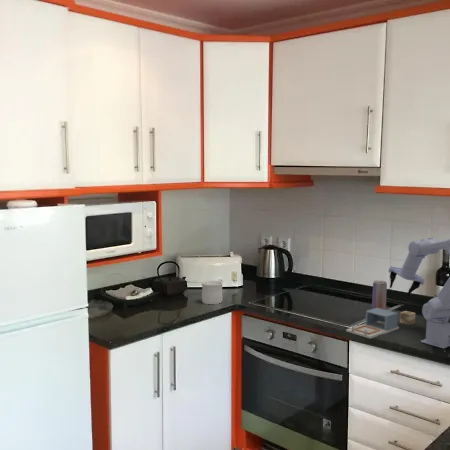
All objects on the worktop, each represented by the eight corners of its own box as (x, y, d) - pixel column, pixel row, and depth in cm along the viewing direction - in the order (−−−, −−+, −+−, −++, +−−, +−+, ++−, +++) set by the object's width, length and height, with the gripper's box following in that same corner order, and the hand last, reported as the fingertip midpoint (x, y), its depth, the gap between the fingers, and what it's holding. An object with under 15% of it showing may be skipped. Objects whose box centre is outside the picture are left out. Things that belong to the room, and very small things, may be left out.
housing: (397, 326, 224) (397, 312, 224) (386, 329, 219) (386, 316, 218) (376, 320, 232) (377, 307, 231) (365, 324, 227) (365, 310, 226)
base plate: (398, 328, 224) (399, 322, 224) (370, 338, 211) (370, 331, 211) (374, 322, 233) (375, 315, 233) (346, 331, 220) (346, 324, 220)
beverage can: (369, 314, 245) (370, 281, 243) (376, 311, 249) (377, 279, 247) (381, 317, 241) (382, 283, 239) (387, 314, 245) (389, 281, 243)
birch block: (414, 323, 233) (415, 313, 232) (409, 325, 230) (409, 314, 229) (405, 320, 236) (406, 310, 236) (399, 322, 233) (400, 312, 233)
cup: (226, 302, 262) (226, 282, 261) (211, 306, 255) (212, 285, 254) (212, 298, 269) (212, 279, 268) (197, 302, 262) (198, 282, 261)
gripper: (429, 266, 222) (417, 290, 230) (395, 253, 226) (384, 278, 234) (428, 276, 217) (415, 300, 225) (392, 263, 220) (381, 287, 228)
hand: (399, 289), depth 229 cm, fingers open, 7 cm apart
